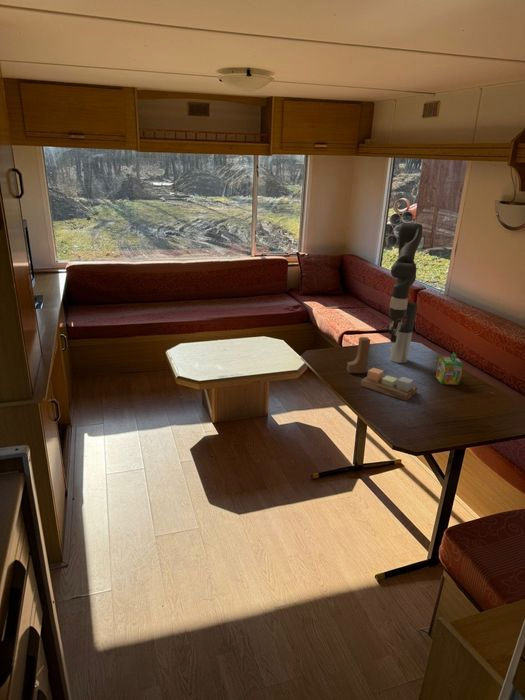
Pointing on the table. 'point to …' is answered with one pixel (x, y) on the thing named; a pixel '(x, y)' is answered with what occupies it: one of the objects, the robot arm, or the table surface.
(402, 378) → the slate key
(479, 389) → the table surface
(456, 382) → the chalk box
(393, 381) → the sage key
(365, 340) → the wooden block
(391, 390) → the wooden tray
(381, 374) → the terracotta key
